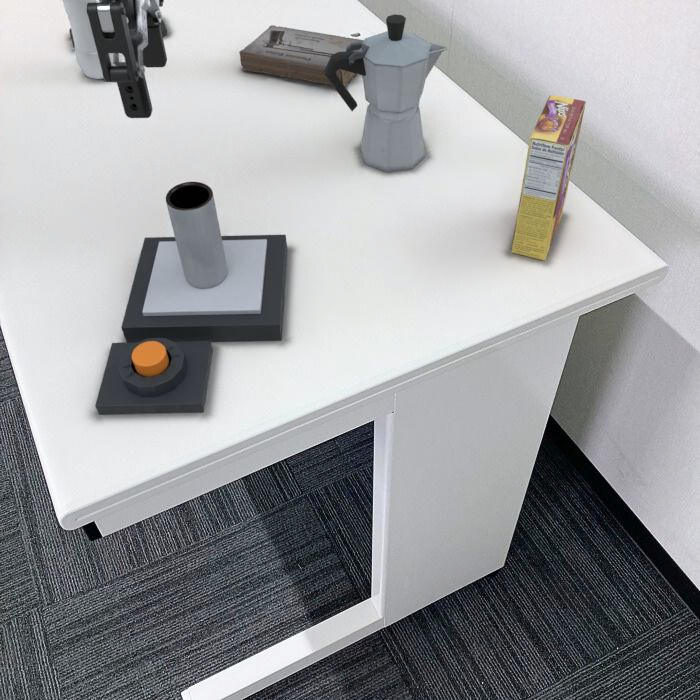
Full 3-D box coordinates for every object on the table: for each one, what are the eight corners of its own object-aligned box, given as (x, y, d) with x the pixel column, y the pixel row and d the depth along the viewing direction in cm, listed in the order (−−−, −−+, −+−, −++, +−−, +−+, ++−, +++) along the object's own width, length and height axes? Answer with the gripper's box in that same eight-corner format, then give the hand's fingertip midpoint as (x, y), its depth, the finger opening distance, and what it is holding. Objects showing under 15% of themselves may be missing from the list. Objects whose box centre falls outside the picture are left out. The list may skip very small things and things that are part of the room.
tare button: (132, 377, 70) (128, 366, 69) (138, 351, 72) (134, 341, 71) (166, 376, 70) (163, 366, 69) (171, 351, 72) (168, 340, 71)
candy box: (526, 208, 90) (549, 92, 79) (562, 216, 89) (590, 100, 77) (507, 253, 85) (529, 136, 73) (544, 262, 83) (572, 145, 72)
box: (343, 91, 107) (342, 70, 105) (240, 71, 113) (237, 50, 110) (372, 59, 114) (372, 39, 112) (273, 42, 119) (271, 22, 117)
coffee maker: (430, 129, 102) (440, -4, 88) (447, 166, 96) (460, 29, 82) (323, 141, 100) (316, 7, 87) (333, 180, 94) (328, 43, 81)
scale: (126, 344, 76) (119, 323, 74) (149, 253, 86) (143, 233, 83) (281, 340, 76) (279, 320, 74) (287, 251, 86) (285, 230, 83)
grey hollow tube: (211, 254, 81) (195, 175, 73) (236, 274, 78) (222, 195, 71) (176, 273, 79) (156, 194, 71) (201, 295, 76) (182, 216, 69)
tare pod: (98, 414, 70) (90, 395, 68) (115, 351, 76) (107, 331, 73) (203, 412, 70) (198, 393, 68) (213, 349, 76) (208, 329, 73)
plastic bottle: (99, 59, 116) (59, -80, 101) (134, 68, 114) (99, -73, 99) (72, 78, 112) (27, -64, 97) (107, 88, 110) (67, -56, 95)
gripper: (135, -80, 49) (179, 134, 61) (166, -149, 58) (199, 49, 71) (21, -79, 49) (88, 135, 61) (71, -147, 58) (120, 50, 70)
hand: (148, 89), depth 66 cm, fingers open, 8 cm apart
